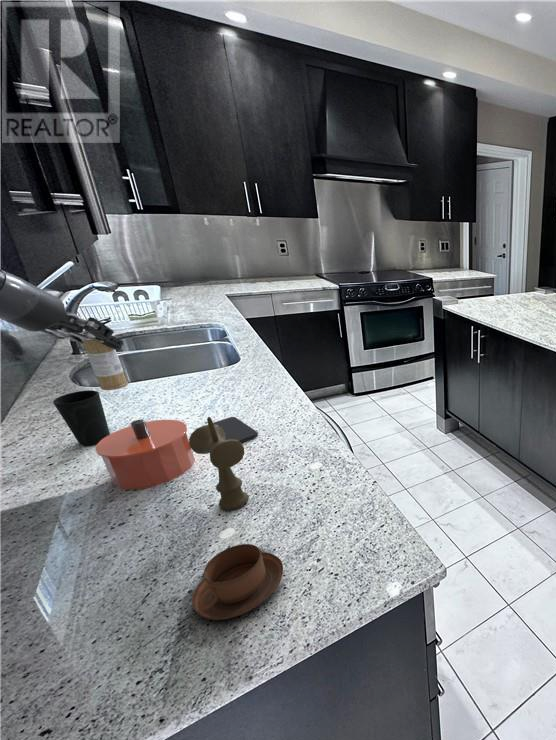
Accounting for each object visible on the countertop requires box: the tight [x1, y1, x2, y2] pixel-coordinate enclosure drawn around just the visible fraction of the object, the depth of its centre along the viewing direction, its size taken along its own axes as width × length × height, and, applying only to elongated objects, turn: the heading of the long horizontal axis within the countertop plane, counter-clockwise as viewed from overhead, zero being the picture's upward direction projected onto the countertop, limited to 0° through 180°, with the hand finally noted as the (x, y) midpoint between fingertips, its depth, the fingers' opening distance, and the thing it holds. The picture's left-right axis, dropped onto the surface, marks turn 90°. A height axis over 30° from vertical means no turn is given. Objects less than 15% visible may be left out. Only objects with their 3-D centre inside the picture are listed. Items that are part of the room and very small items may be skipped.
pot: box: [101, 432, 196, 491], centre depth 87 cm, size 14×14×10 cm
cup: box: [52, 389, 111, 447], centre depth 98 cm, size 8×8×12 cm
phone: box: [213, 416, 259, 443], centre depth 106 cm, size 7×1×15 cm
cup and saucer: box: [191, 543, 284, 621], centre depth 63 cm, size 12×12×6 cm
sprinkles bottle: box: [80, 330, 129, 391], centre depth 86 cm, size 5×5×14 cm
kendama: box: [188, 416, 250, 511], centre depth 78 cm, size 6×10×20 cm, turn 55°
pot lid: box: [94, 419, 188, 458], centre depth 84 cm, size 15×15×5 cm
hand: (108, 345), depth 87 cm, fingers closed on sprinkles bottle, 4 cm apart
